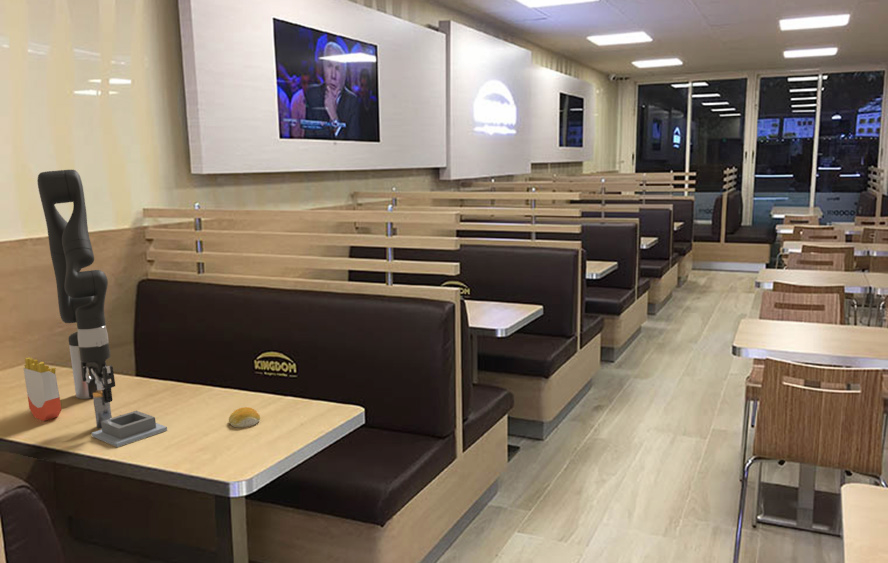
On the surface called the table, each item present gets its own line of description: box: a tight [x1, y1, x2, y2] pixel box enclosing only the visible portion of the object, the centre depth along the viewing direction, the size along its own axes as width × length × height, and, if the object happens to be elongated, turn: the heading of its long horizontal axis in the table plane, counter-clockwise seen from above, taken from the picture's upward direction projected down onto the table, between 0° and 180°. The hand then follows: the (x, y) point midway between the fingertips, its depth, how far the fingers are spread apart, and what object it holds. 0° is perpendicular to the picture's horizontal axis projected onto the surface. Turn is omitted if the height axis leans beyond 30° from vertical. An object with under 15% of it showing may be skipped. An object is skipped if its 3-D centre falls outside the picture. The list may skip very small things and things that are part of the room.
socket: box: [91, 410, 168, 448], centre depth 195 cm, size 14×14×4 cm
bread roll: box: [228, 406, 261, 428], centre depth 201 cm, size 8×9×4 cm
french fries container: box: [23, 356, 62, 422], centre depth 211 cm, size 5×11×18 cm, turn 54°
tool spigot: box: [92, 390, 113, 430], centre depth 202 cm, size 4×4×10 cm
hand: (100, 399), depth 201 cm, fingers open, 8 cm apart
